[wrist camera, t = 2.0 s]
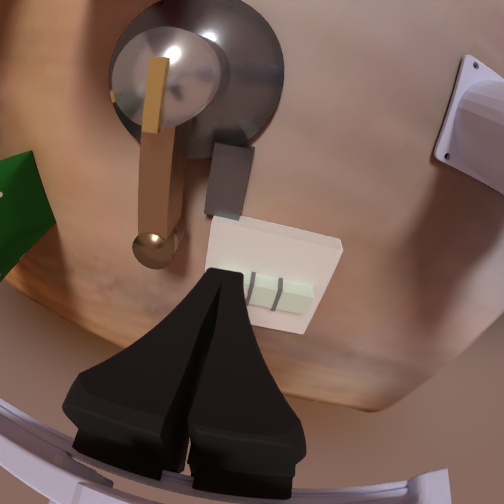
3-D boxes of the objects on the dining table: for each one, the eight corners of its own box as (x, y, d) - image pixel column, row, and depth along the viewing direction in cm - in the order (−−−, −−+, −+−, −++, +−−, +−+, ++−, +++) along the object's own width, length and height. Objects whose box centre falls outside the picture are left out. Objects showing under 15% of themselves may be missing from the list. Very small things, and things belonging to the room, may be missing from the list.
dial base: (302, 7, 12) (303, 3, 12) (251, 217, 21) (250, 225, 20) (127, -6, 12) (119, -8, 11) (108, 188, 20) (101, 195, 20)
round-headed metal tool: (155, 33, 13) (114, 26, 9) (238, 39, 13) (221, 29, 9) (139, 229, 21) (110, 269, 17) (202, 244, 21) (184, 288, 18)
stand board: (340, 239, 21) (347, 269, 18) (302, 321, 26) (303, 352, 23) (216, 210, 21) (204, 236, 18) (203, 300, 26) (194, 330, 23)
